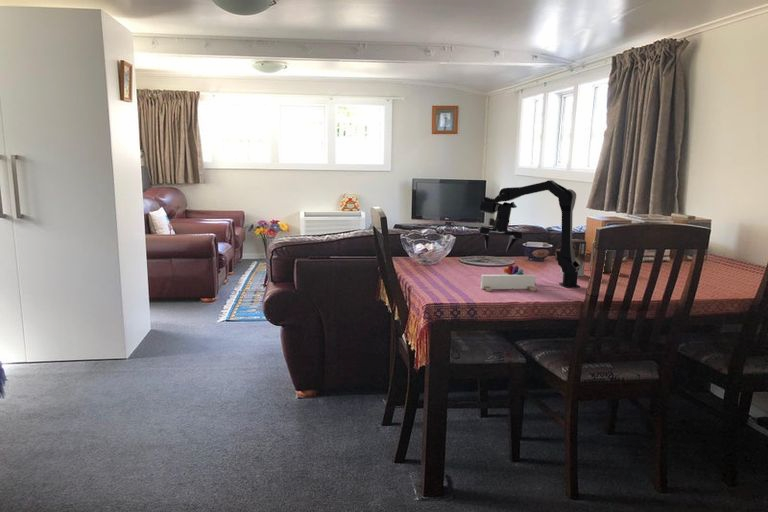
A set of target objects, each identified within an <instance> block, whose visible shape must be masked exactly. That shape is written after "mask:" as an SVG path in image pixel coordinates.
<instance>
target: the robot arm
mask: <svg viewBox="0 0 768 512" xmlns="http://www.w3.org/2000/svg"><path fill="white" fill-rule="evenodd" d="M545 191H548V192H549V193H551V194H552V195H553V196H555V197H556V198H558V199H557V200H558V204H559V208H560V211H561V234H560V235H561V237H560V238H561V240H560V241H561V245H560V248H559V249H557V250H556V251H555V252H556V258H555V261H556V262H557V264H558V266H559V267H560V269H561V268H562V272H563V275H562V282H559V283H558V284H559V285H560V286H563V287H564V288H581V285H579V284H578V277H579V276H578V270H579V268H580V265H579V264H578V262H577V261H576V260H575V253H574V249H573V246H572V239H573V214H574V213H573V211H574V208H575V204H576V201H577V193H576V191H574V190H573V189H571V188H566V187H564V186H563V185H560V184H559V183H557V182H556V181H554V180H552V179H549V180H548V179H547V180H545V181H542V182H537V183H533V184H529V185H525V186H519V187H518V186H517V187H516V186H515V187H513V186H511V187H504V188H501V189H500V191H499V192H498V195H497V196H495V197H494V198H490V197H487V196H484V197H483V200H481V203H480V205H479V211H480V212H481V213H487V214H491V215H494V214H495V213H496V216H495V218H490V217H489V219H488V220H489V221H488V225H483V224H482V225H481V224H480V225H478V228H477V232H478V233H479V234H480V235H481V236H483V239H484V245H485V246H484V247H485V250H488V248H489V238H490V235H489V234H490V233H492V234H498V235H507V236H509V239H508V244H507V247H506V250H505V251H506V253H508V252H509V251H510V249H512V246H513V245H514V244H515V243H516V241H519V239H520V240H522V239H523V236H524V234H523V232H522V231H521V230H519V229H511V230H508V228H509V223H510V219H511V218H510V217H511V212H512V209H515V208H517V207H518V206H517V205H516V204H515V202H514V201H513V200H515V199H516V200H517V199H519V198H520V197H521V198H522V196H526V195H531V194H535V193H536V194H537V193H540V192H545ZM501 202H503V203H501ZM490 227H492V228H490Z"/></svg>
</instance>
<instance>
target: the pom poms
mask: <svg viewBox="0 0 768 512" xmlns="http://www.w3.org/2000/svg"><path fill="white" fill-rule="evenodd" d="M501 275H526V274H525V273H524V270H523V269H520V267H519V266H518V265H516V264H515V265H514V266H513V265H512V264H509V265H508V266H507V268H506V267H505V268H504V269H503V273H502V274H501Z"/></svg>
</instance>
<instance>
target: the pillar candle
mask: <svg viewBox="0 0 768 512" xmlns="http://www.w3.org/2000/svg"><path fill="white" fill-rule="evenodd" d="M594 242H595V241H592V244H591V245H592V246H591V254H590V264H589V271H591V266H592V261H593V256H594ZM613 257H614V251H607V253H606V260H605V266H604V273H603V274H610V271H611V272H612V270H611V267H612V268H613V259H614V258H613Z"/></svg>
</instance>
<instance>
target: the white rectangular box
mask: <svg viewBox="0 0 768 512" xmlns="http://www.w3.org/2000/svg"><path fill="white" fill-rule="evenodd" d="M481 288H482V289H481ZM512 288H513V289H512ZM480 289H481V290H485V291H486V292H492V291H493V290H528V291H530V290H531V292H536V291H537V288H536V275H535V274H525V275H502V274H481V275H480Z"/></svg>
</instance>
